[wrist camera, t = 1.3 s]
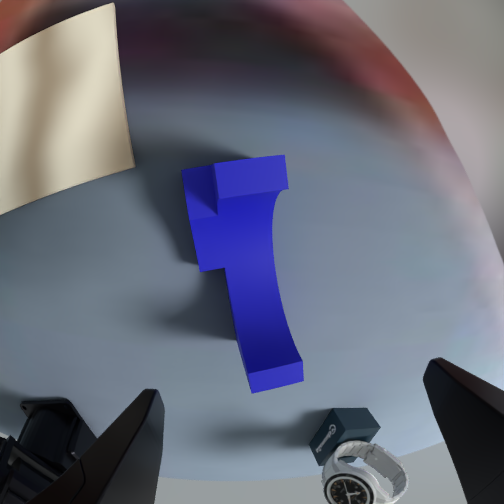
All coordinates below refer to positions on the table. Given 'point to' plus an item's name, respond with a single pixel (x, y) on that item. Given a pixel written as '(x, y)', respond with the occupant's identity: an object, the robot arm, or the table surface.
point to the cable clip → (245, 259)
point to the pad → (62, 109)
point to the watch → (347, 450)
